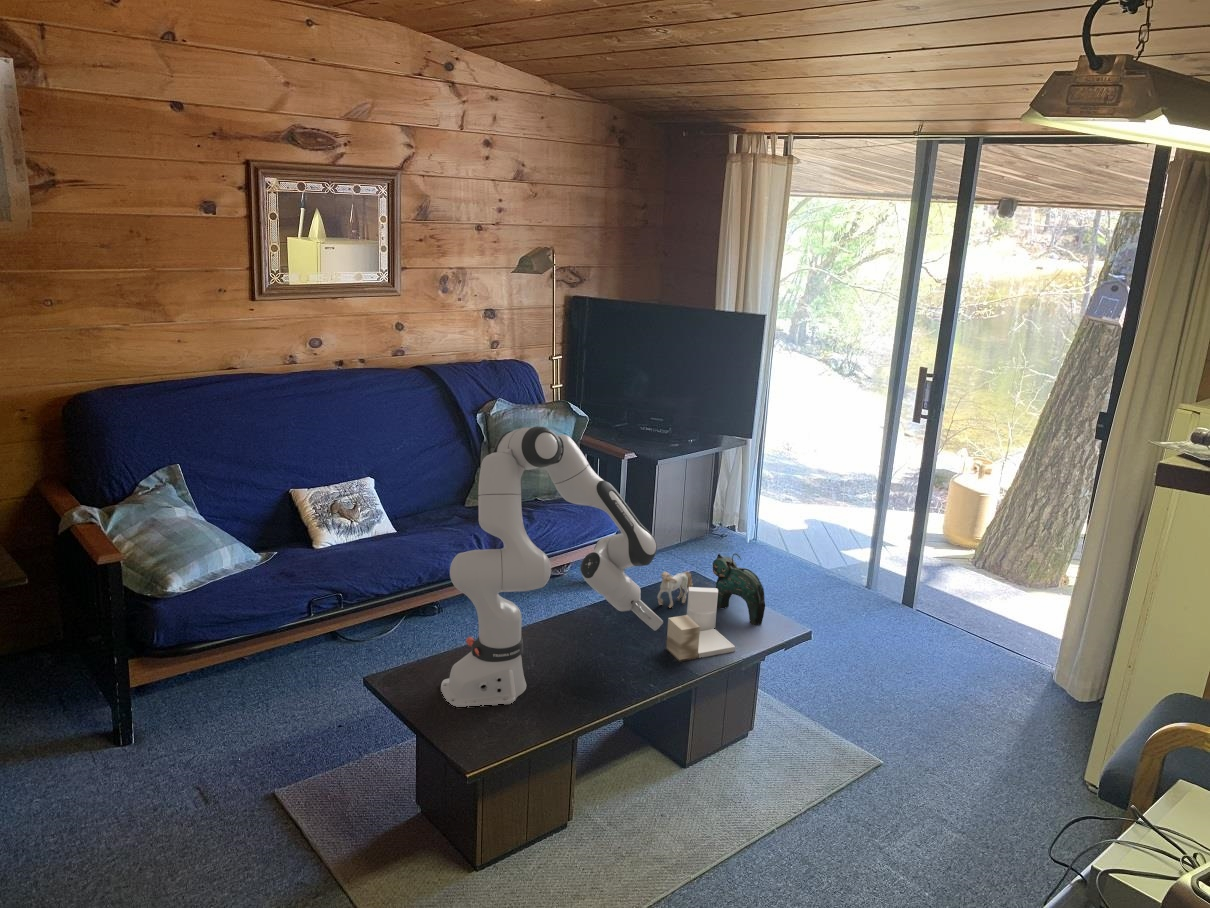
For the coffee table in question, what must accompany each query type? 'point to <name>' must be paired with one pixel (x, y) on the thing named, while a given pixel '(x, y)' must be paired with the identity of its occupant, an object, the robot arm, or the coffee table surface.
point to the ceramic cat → (739, 587)
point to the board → (713, 643)
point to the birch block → (683, 638)
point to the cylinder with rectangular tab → (702, 606)
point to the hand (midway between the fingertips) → (653, 620)
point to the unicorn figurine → (674, 586)
